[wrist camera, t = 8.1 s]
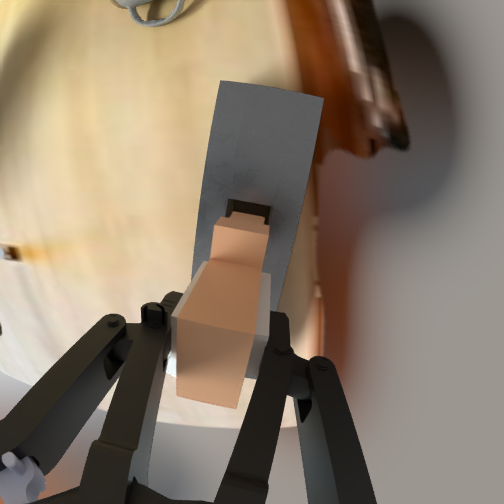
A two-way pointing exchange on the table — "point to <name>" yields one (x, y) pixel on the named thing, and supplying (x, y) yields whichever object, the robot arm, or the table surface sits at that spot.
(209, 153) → the rail
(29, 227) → the table surface
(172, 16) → the ceramic mug
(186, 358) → the tan wooden block
